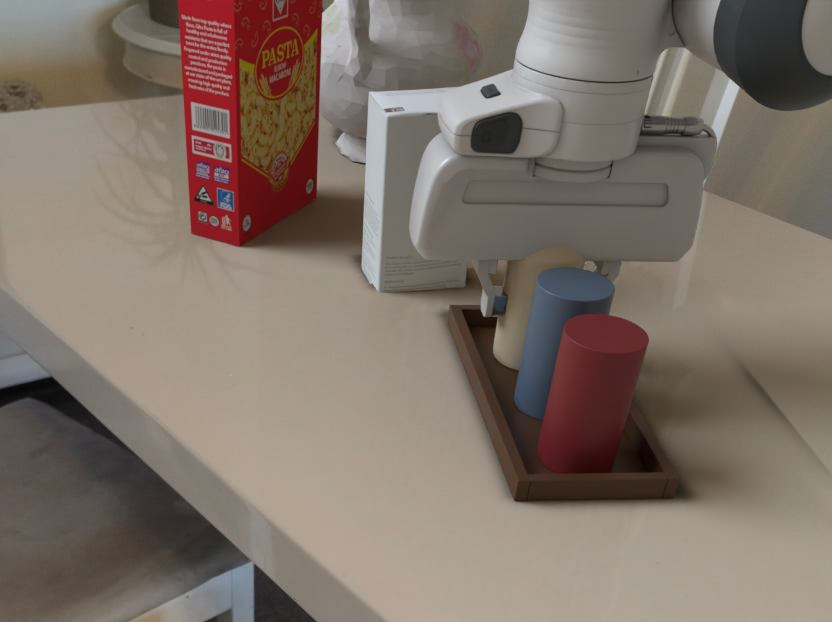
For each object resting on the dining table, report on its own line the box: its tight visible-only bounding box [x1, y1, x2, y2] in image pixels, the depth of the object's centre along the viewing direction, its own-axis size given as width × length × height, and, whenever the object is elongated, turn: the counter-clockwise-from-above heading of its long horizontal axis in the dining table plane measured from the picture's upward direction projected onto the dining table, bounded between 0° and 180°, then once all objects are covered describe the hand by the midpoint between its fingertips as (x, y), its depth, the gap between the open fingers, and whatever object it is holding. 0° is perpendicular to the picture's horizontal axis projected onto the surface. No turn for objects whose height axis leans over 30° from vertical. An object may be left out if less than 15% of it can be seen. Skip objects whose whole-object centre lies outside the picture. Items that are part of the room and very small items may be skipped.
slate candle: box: [514, 267, 616, 420], centre depth 68 cm, size 5×5×9 cm
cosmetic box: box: [361, 87, 469, 293], centre depth 81 cm, size 8×6×15 cm
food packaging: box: [177, 0, 324, 247], centre depth 86 cm, size 15×5×25 cm, turn 153°
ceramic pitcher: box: [319, 0, 484, 164], centre depth 102 cm, size 22×20×25 cm
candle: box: [493, 245, 586, 371], centre depth 72 cm, size 6×6×10 cm
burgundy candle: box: [537, 314, 650, 474], centre depth 63 cm, size 5×5×9 cm
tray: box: [447, 304, 680, 502], centre depth 71 cm, size 11×25×2 cm, turn 6°
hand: (535, 314), depth 73 cm, fingers closed on candle, 5 cm apart
